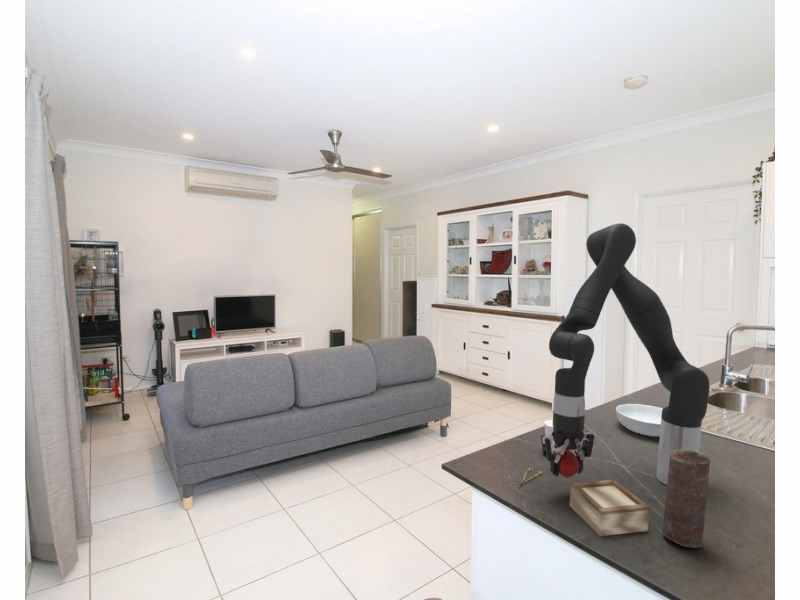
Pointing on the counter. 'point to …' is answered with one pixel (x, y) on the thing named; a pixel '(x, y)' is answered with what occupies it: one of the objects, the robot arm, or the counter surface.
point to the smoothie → (549, 429)
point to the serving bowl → (640, 418)
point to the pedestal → (609, 507)
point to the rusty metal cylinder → (686, 497)
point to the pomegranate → (568, 464)
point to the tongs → (529, 478)
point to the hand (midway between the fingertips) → (566, 473)
